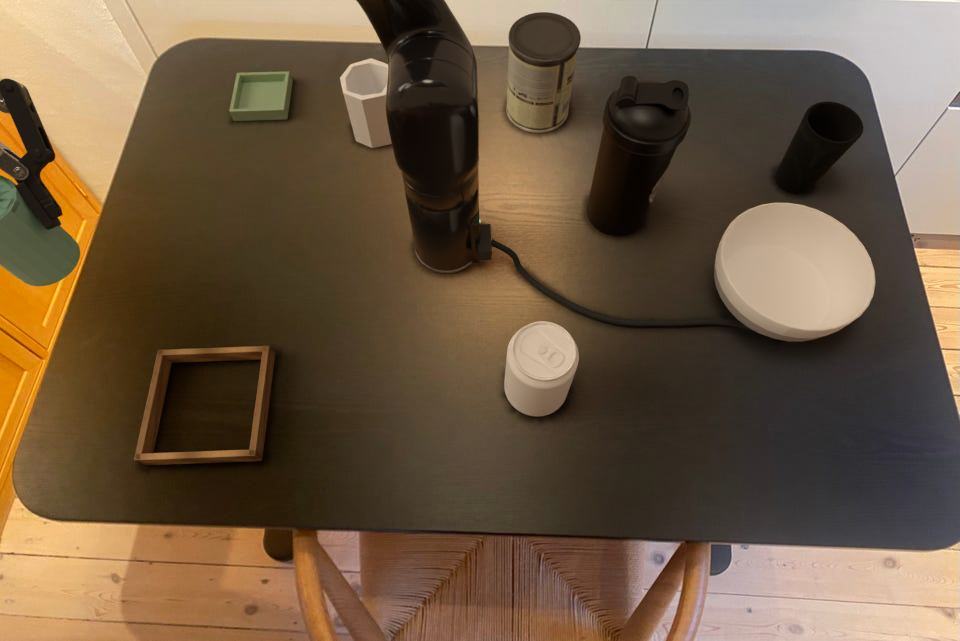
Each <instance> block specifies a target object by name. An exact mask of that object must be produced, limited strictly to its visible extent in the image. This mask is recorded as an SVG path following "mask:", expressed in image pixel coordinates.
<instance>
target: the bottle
mask: <svg viewBox="0 0 960 641" xmlns="http://www.w3.org/2000/svg"><path fill="white" fill-rule="evenodd" d="M15 185H17V184H16V183H15V182H13V180H11V179H10V178H8V177H5V176H4V175H1V174H0V267H2V268H3V269H4V270H6V271H7V272H9V273H10V274H11V275H12V276H14V277H15V278H17V279H18V280H20V281H21V282H23V283H24V284H26V285H29V286H31V287H46V286H51V285H54V284H56V283H59V282H61V281H62V280H63V279H65V278H66V277H68V276H69V275H70V274H71V273H72V272H73V271H74V270H75V268H76V267H77V265H78V264H79V261H80V258H81V248H80V245H79V242H77V241H76V240H75V239H74V237H73V236H72V235H71V234H70V233H69V232H68V231H67V230H65V229H64V228H63V227H62V225H59V226H57V227H55V228H53V229H50V230H47V229H46V228H45V227H44V226H43V225H42V223H41V222H40V221H39V219H38V218H37V216H36V215H35V214H34V212H33V211H32V209H31V208H30V207H29V205H28V204H27V203H26V201H25V200H24V198H23V197H22V196H21V194H20V193H19V192H18V190H17V189H16V187H15Z"/></svg>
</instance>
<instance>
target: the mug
mask: <svg viewBox="0 0 960 641" xmlns="http://www.w3.org/2000/svg"><path fill="white" fill-rule="evenodd" d="M387 78H388V63H385V62H383V61H380V60H377V59H375V58H372V57H370V58H366V59H363V60H361V61H357V62H354V63H350V64H349V65H348V66H347V68H346V69H345V71H344V72H343V73H342V74H341V76H340V77H339V81H340V86H341V90H342V95H343V97H344V102H345V105H346V109H347V110H346V111H347V113H348V117H349V120H350V124H351V128H352V132H353V136H354V141H355V142H356V143H358V144H362V145H363V146H366V147H369V148H371V149H376V148H380V147H383V146H389V145H392V143H391V138H390V133H389V129H388V123H387V117H386V91H387Z"/></svg>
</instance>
